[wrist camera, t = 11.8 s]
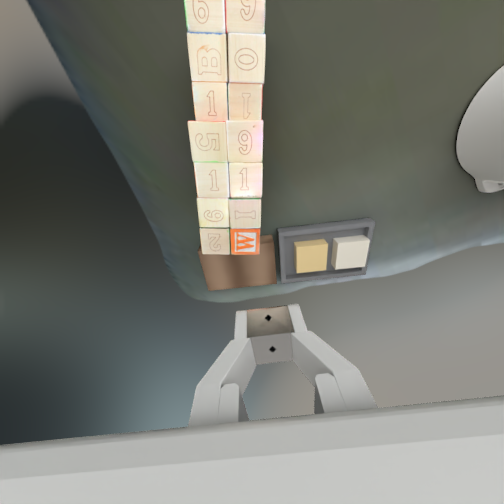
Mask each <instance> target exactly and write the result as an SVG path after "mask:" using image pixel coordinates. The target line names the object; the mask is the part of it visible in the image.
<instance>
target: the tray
mask: <svg viewBox="0 0 504 504" xmlns="http://www.w3.org/2000/svg"><path fill="white" fill-rule="evenodd" d="M374 226H375V221H374V220H372V219H371V218H362V219H353V220H345V221H336V222H328V223H319V224H311V225H302V226H294V227H285V228H277V233H278V249H279V266H280V279H281V283H290V282H299V281H308V280H318V279H327V278H336V277H346V276H355V275H365V274H366V269H367V264H368V258H369V253H370V248H371V242H372V237H373V231H374ZM359 235H364V236H366V237H367V238H368V239H369V240H370V243H369V248H368V254H367V259H366V264H365V267H356V268H346V269H337V270H335V268H334V267H333V266H332V264H331V258H332V247H333V238H340V237H349V236H359ZM317 239H324V240H325V241H326V242H327V243H328V251H327V265H326V270H323V271H313V272H304V273H296V270H295V267H294V242H299V241H308V240H317Z"/></svg>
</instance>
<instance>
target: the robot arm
mask: <svg viewBox="0 0 504 504" xmlns="http://www.w3.org/2000/svg"><path fill="white" fill-rule="evenodd" d="M456 149H457V156H458V160H459V162H460V164H461V166H462V167H463V168H464V170H465V171H467V172H468V173H469V174H471V175H472V176H473V177H474V178H475V182H476V186H477V188H478V190H479V191H480V192H485V193H492V192H495V191H499V190H502V189H504V66H502V67H501V68H500V69H499V70H498V71H497V72H496V73H495V74H494V75H493V76H492V77H491V78H490V79H489V80H488V81H487V82H486V83H485V84H484V85H483V87H482V88H481V89H480V90H479V92H478V93H477V94H476V96H475V97H474V99H473V100H472V102H471V104H470V105H469V107H468V109H467V111H466V113H465V115H464V117H463V120H462V122H461V125H460V128H459V131H458V136H457V144H456ZM285 361H293V362H294V363H295V364H296V365H297V367H298V368H299V369H300V370H301V372H302V373H303V374H304V375H305V376H306V378H307V379H308V380H309V381H310V382H311V383H312V385H313V386H314V387H315V401H314V413H315V414H312V415H301V416H291V417H281V418H272V419H260V420H252V421H251V420H250V421H249V418H248V414H247V411H246V408H245V404H244V401H243V398H242V395H243V393H244V391H245V389H246V387H247V385H248V383H249V380H250V378H251V376H252V374H253V372H254V370H255V368H256V365H259V364H266V363H272V362H285ZM0 504H504V396H494V397H484V398H474V399H464V400H455V401H443V402H433V403H423V404H413V405H404V406H393V407H383V408H378V407H377V405H376V403H375V401H374V399H373V397H372V395H371V393H370V391H369V389H368V387H367V385H366V383H365V381H364V379H363V377H362V375H361V373H360V371H359V369H358V368H356V367H355V366H354V365H353V364H352V363H350V362H349V361H348V360H347V359H345V358H344V357H343V356H342V355H340V354H339V353H338V352H337V351H335V350H334V349H333V348H332V347H330V346H329V345H328V344H327V343H325V342H324V341H323V340H322V339H320V338H319V337H318V336H317V335H316V334H314V333H313V332H312V331H307V328H306V325H305V322H304V319H303V316H302V313H301V310H300V307H299V305H298V304H291V305H284V306H277V307H269V308H262V309H251V310H245V311H237V312H236V319H235V336H234V340H231V341H230V342H229V344H228V345H227V346H226V348H225V349H224V350H223V352H222V353H221V354H220V356H219V357H218V358H217V360H216V361H215V362H214V364H213V365H212V366H211V368H210V369H209V370H208V372H207V373H206V374H205V376H204V377H203V378H202V380H201V381H200V382H199V384H198V385H197V387H196V391H195V396H194V401H193V405H192V410H191V415H190V420H189V424H188V427H180V428H170V429H160V430H150V431H139V432H130V433H120V434H109V435H99V436H89V437H79V438H69V439H59V440H49V441H38V442H29V443H18V444H9V445H0Z"/></svg>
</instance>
